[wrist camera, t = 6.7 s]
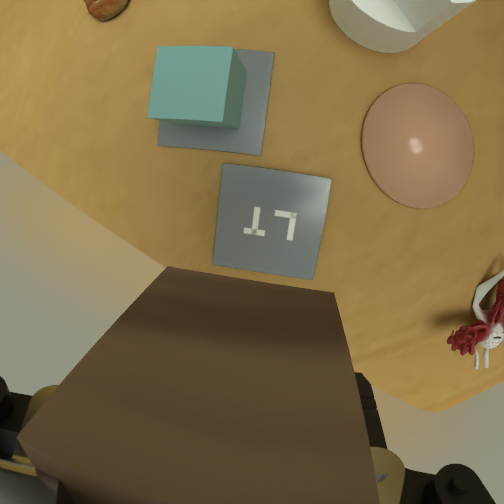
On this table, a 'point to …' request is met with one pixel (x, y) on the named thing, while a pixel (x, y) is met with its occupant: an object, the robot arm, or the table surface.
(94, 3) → the pastry
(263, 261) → the code tile
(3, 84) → the table surface
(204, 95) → the teal block
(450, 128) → the pink round disc
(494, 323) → the figurine
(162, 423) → the walnut block
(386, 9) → the cylinder with rectangular tab
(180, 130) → the code tile
